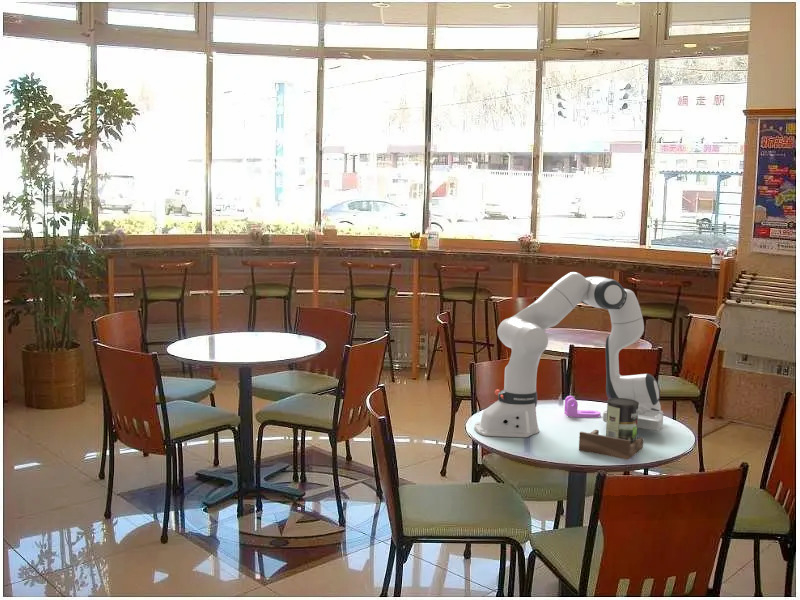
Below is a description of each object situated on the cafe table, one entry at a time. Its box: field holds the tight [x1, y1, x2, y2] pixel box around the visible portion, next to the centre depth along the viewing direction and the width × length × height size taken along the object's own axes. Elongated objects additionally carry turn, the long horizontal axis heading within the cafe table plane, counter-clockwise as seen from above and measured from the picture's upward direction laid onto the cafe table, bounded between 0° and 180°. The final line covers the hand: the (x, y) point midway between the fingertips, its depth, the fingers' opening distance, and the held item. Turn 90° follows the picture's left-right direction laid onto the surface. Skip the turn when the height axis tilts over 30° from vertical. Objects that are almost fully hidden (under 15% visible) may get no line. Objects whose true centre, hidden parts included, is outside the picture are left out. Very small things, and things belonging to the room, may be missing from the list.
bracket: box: [564, 395, 601, 418], centre depth 313 cm, size 13×6×7 cm, turn 89°
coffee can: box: [605, 398, 639, 444], centre depth 279 cm, size 10×10×14 cm
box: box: [578, 429, 644, 461], centre depth 272 cm, size 15×16×6 cm
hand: (626, 424), depth 284 cm, fingers closed
